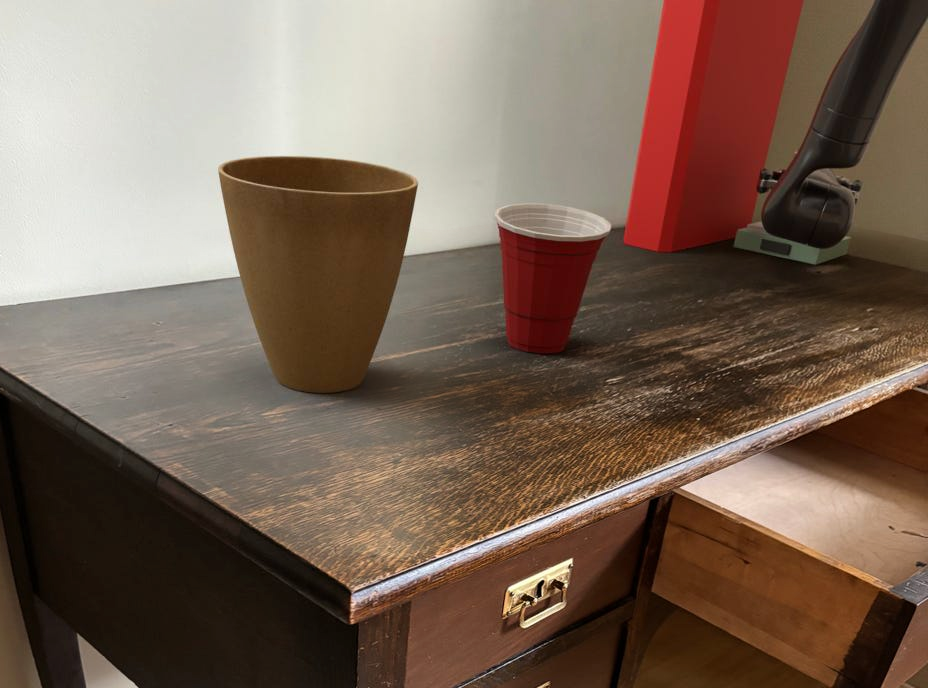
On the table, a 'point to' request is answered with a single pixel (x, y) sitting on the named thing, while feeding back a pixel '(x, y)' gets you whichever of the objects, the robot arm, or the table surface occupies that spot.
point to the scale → (785, 246)
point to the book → (708, 119)
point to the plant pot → (317, 260)
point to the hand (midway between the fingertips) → (808, 180)
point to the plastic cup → (545, 270)
